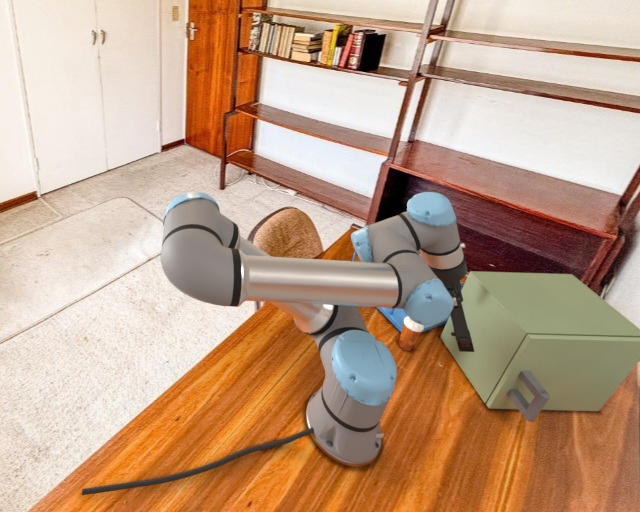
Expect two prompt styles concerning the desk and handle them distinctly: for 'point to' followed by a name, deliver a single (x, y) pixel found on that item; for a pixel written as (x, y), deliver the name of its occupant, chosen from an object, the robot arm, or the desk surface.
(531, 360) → the door
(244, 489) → the desk surface
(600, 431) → the desk surface
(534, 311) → the cupboard
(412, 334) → the milkshake
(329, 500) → the desk surface
